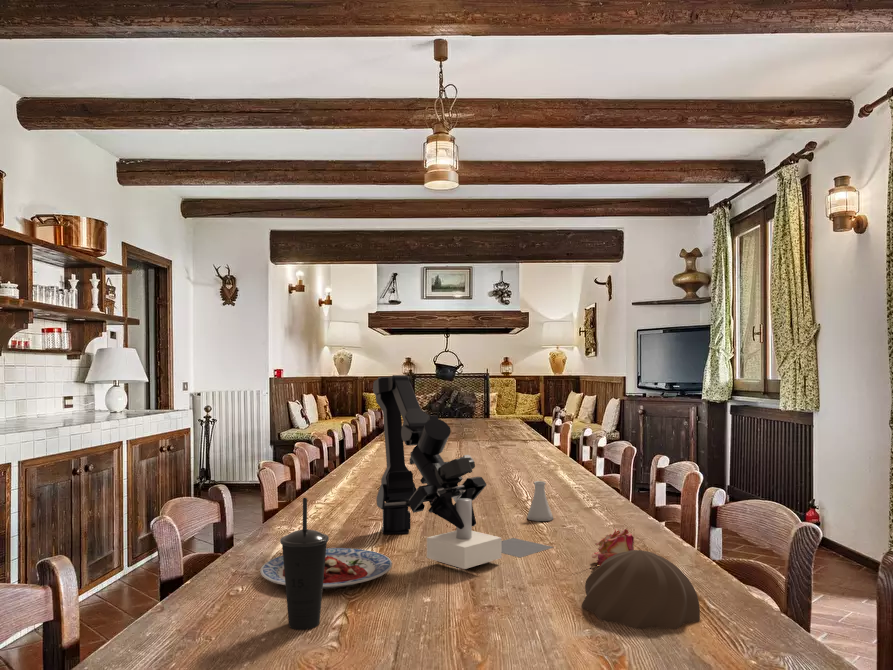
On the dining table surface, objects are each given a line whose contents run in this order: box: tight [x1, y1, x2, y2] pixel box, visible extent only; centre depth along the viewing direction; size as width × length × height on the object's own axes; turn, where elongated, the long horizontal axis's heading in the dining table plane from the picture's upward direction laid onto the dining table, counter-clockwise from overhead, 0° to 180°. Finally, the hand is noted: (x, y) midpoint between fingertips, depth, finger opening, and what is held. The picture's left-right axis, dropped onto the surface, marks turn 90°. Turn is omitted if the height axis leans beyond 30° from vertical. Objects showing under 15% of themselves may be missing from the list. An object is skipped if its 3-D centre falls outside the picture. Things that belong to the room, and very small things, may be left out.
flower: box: [591, 527, 635, 567], centre depth 139 cm, size 10×9×8 cm
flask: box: [526, 481, 554, 522], centre depth 185 cm, size 7×7×10 cm
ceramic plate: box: [259, 547, 393, 590], centre depth 135 cm, size 26×26×3 cm
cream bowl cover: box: [426, 498, 502, 570], centre depth 141 cm, size 11×11×12 cm
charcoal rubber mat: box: [501, 537, 554, 558], centre depth 154 cm, size 12×12×1 cm
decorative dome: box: [582, 549, 701, 630], centre depth 116 cm, size 19×20×10 cm
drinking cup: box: [279, 497, 330, 631], centre depth 109 cm, size 8×8×20 cm
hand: (468, 526), depth 140 cm, fingers closed on cream bowl cover, 3 cm apart
